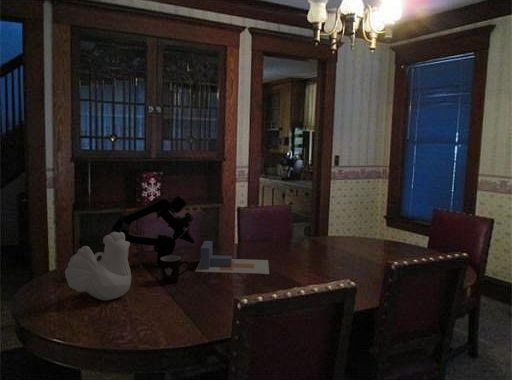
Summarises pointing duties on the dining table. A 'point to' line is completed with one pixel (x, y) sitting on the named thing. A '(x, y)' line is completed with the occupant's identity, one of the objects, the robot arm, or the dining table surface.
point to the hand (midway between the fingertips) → (194, 242)
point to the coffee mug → (171, 268)
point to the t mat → (240, 267)
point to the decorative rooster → (101, 269)
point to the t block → (213, 257)
